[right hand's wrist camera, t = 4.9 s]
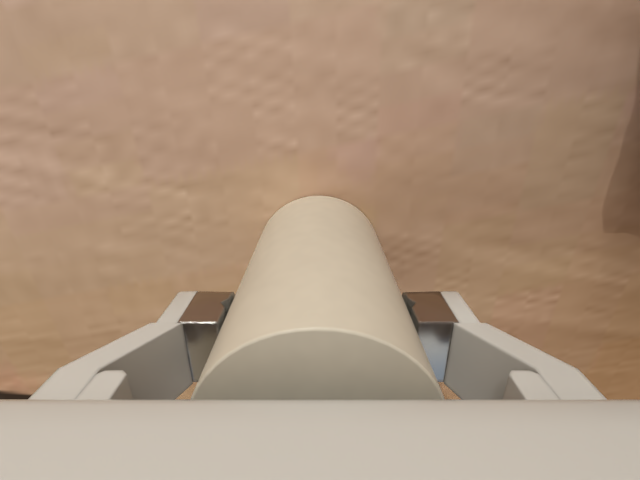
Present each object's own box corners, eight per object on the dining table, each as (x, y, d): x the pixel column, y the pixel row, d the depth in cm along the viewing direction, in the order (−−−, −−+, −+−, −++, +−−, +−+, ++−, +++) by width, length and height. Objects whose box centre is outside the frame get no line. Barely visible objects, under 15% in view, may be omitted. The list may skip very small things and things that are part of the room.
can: (244, 282, 15) (159, 486, 7) (283, 176, 13) (229, 288, 5) (349, 318, 15) (379, 541, 8) (399, 222, 14) (501, 381, 6)
